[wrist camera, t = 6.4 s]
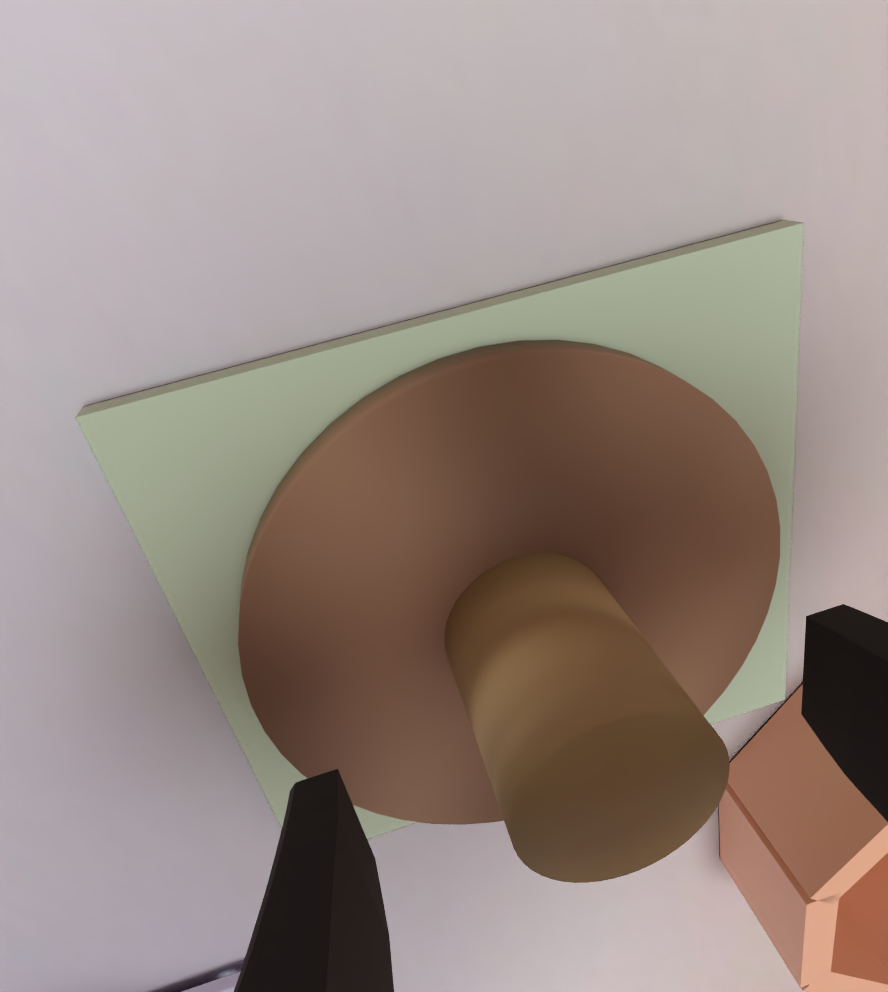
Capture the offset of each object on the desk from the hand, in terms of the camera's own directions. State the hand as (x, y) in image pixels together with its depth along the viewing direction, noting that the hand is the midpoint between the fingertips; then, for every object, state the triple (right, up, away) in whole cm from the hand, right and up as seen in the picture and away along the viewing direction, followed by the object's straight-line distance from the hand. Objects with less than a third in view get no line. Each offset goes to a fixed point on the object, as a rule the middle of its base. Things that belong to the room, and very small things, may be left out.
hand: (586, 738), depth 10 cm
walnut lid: (-1, +2, +3) cm, 4 cm away
